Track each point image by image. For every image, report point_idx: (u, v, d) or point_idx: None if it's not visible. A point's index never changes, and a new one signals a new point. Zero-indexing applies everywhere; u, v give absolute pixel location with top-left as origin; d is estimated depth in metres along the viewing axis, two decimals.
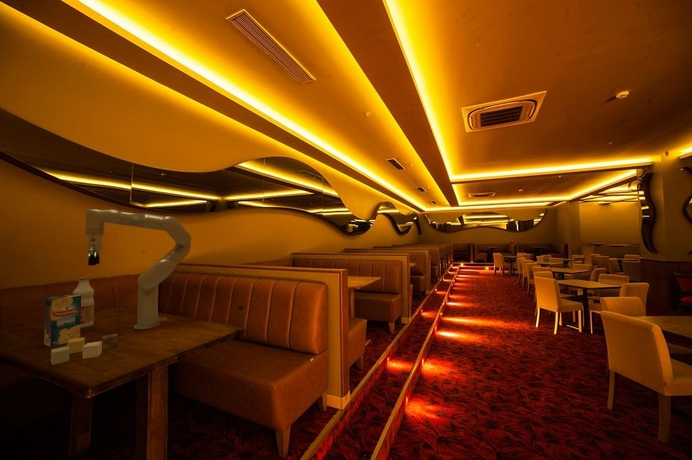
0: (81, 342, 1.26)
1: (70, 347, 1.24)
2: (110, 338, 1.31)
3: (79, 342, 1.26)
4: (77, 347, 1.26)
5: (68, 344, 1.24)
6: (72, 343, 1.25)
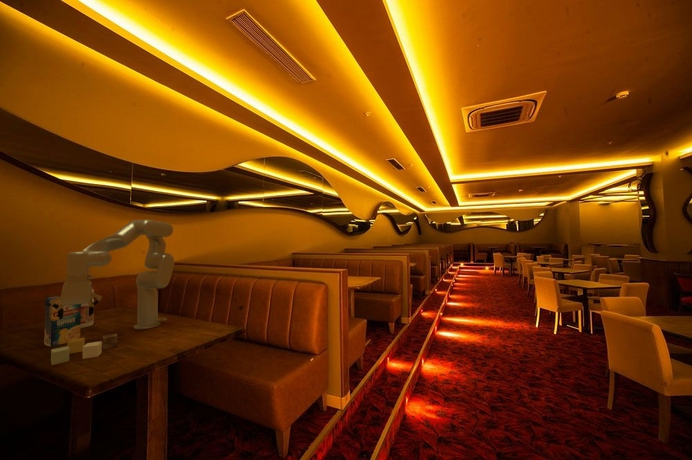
0: (81, 342, 1.26)
1: (70, 347, 1.24)
2: (110, 338, 1.31)
3: (79, 342, 1.26)
4: (77, 347, 1.26)
5: (68, 344, 1.24)
6: (72, 343, 1.25)
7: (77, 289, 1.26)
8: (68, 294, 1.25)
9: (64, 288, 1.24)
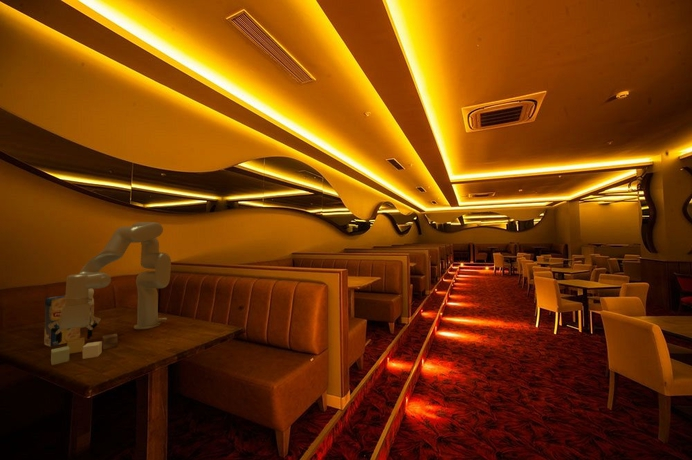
0: (81, 342, 1.26)
1: (70, 347, 1.24)
2: (110, 338, 1.31)
3: (79, 342, 1.26)
4: (77, 347, 1.26)
5: (68, 344, 1.24)
6: (72, 343, 1.25)
7: (75, 312, 1.26)
8: (67, 318, 1.24)
9: (63, 312, 1.24)
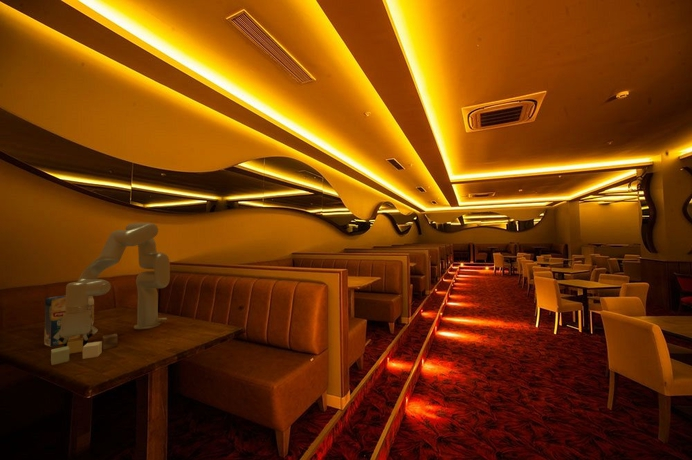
0: (81, 342, 1.26)
1: (70, 347, 1.24)
2: (110, 338, 1.31)
3: (79, 342, 1.26)
4: (77, 346, 1.26)
5: (68, 344, 1.24)
6: (72, 343, 1.25)
7: (76, 320, 1.26)
8: (68, 326, 1.24)
9: (63, 320, 1.24)
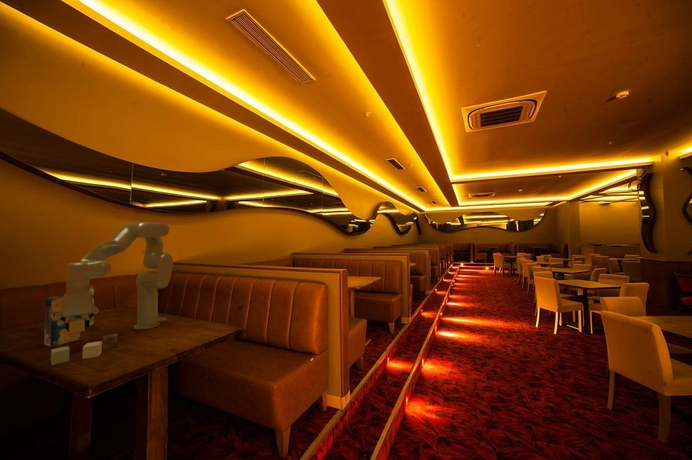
0: (83, 321, 1.27)
1: (72, 326, 1.25)
2: (110, 338, 1.31)
3: (81, 321, 1.27)
4: (79, 326, 1.26)
5: (70, 323, 1.25)
6: (74, 322, 1.26)
7: (77, 299, 1.26)
8: (69, 305, 1.25)
9: (65, 299, 1.24)
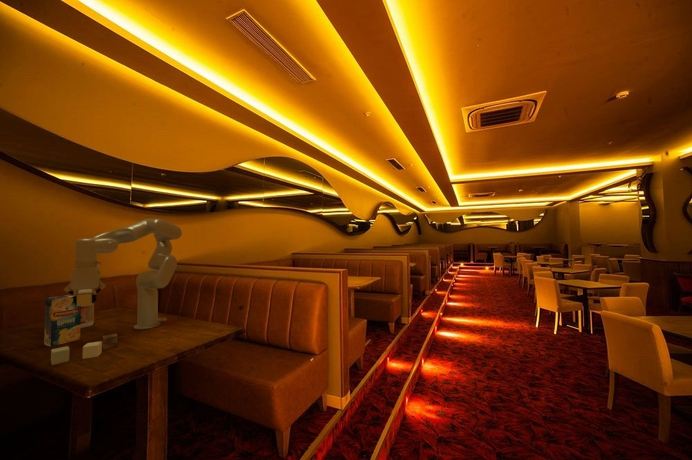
0: (90, 295, 1.31)
1: (79, 300, 1.29)
2: (110, 338, 1.31)
3: (88, 295, 1.31)
4: (86, 300, 1.31)
5: (78, 297, 1.29)
6: (81, 296, 1.30)
7: (85, 274, 1.31)
8: (77, 279, 1.29)
9: (73, 273, 1.29)
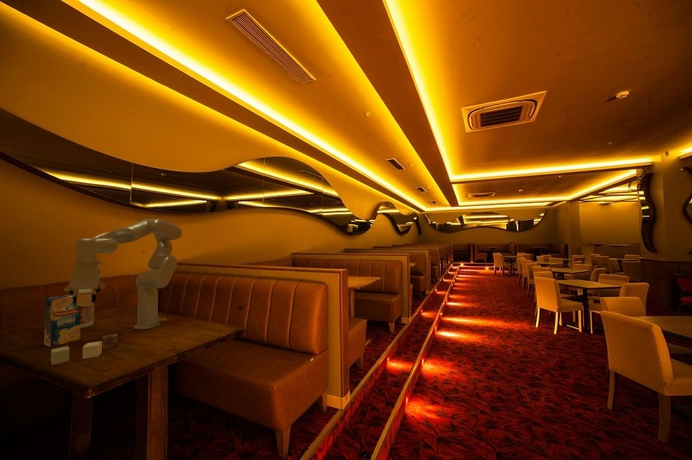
0: (90, 295, 1.32)
1: (79, 299, 1.29)
2: (110, 338, 1.31)
3: (88, 295, 1.31)
4: (86, 299, 1.31)
5: (77, 296, 1.29)
6: (81, 296, 1.30)
7: (85, 274, 1.31)
8: (77, 279, 1.29)
9: (73, 273, 1.29)
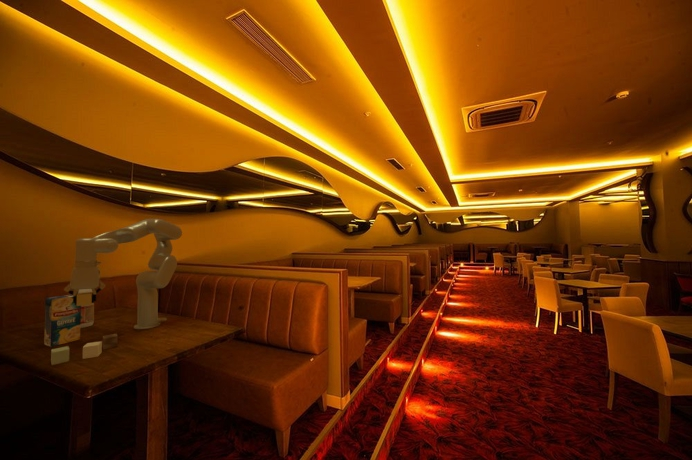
0: (90, 295, 1.32)
1: (79, 299, 1.29)
2: (110, 338, 1.31)
3: (88, 295, 1.31)
4: (86, 299, 1.31)
5: (77, 296, 1.29)
6: (81, 296, 1.30)
7: (85, 274, 1.31)
8: (77, 279, 1.29)
9: (73, 273, 1.29)
